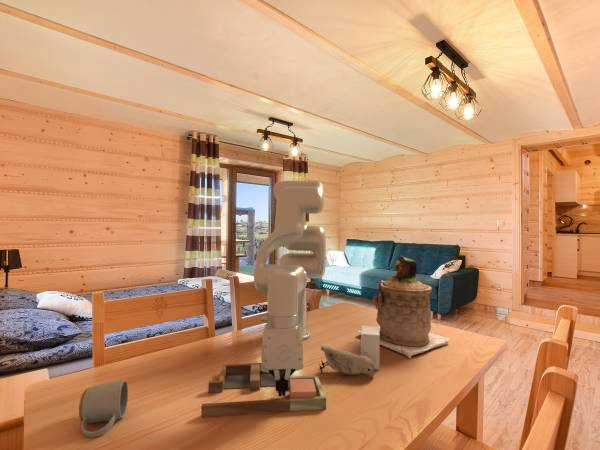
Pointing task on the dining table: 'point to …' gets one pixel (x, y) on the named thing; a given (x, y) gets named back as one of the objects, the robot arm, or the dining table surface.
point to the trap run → (240, 379)
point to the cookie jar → (405, 312)
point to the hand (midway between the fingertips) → (281, 393)
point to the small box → (370, 344)
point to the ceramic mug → (103, 405)
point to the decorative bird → (347, 362)
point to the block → (302, 388)
